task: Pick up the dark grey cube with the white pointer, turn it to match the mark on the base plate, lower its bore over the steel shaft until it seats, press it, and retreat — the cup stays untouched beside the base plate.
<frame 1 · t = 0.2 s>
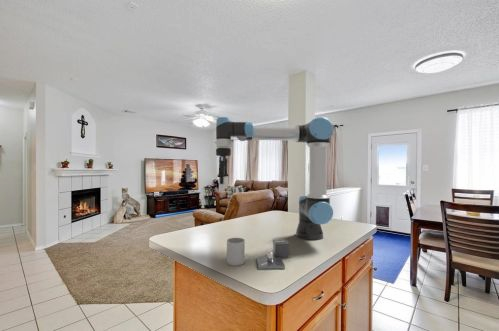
hand: (223, 189, 115), 28 cm above the worktop, fingers open, 13 cm apart
base plate: (270, 263, 91), on the worktop
dark grey cube: (280, 255, 100), on the worktop
cup: (234, 261, 93), on the worktop
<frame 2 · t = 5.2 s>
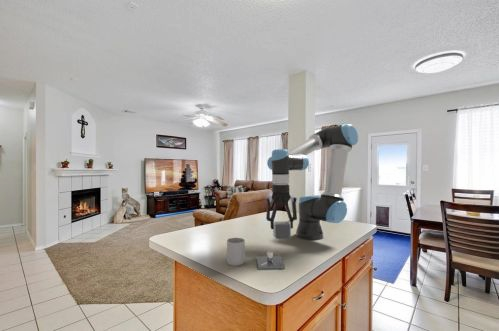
hand: (281, 235, 100), 8 cm above the worktop, fingers closed on dark grey cube, 6 cm apart
dark grey cube: (281, 236, 100), point 8 cm above the worktop, touching gripper
everything else where it was.
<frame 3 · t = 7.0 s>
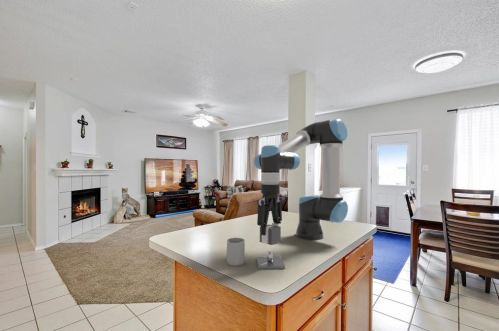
hand: (270, 241, 91), 9 cm above the worktop, fingers closed on dark grey cube, 6 cm apart
dark grey cube: (270, 241, 91), point 9 cm above the worktop, touching gripper
everything else where it was.
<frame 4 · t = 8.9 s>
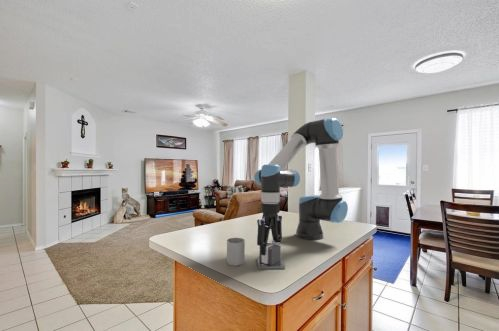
hand: (269, 260, 91), 1 cm above the worktop, fingers closed on dark grey cube, 6 cm apart
dark grey cube: (270, 261, 90), point 1 cm above the worktop, touching gripper
everything else where it was.
when the fingers open (1 cm above the worktop, at t = 9.2 s): dark grey cube stays where it is, resting on base plate.
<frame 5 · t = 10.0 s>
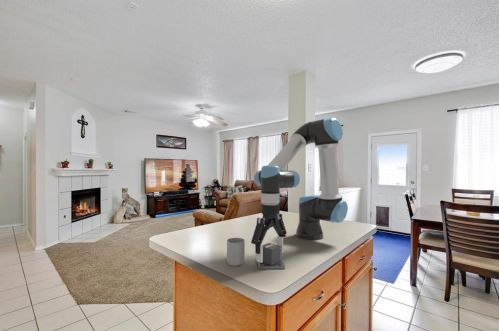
hand: (270, 256, 91), 3 cm above the worktop, fingers open, 13 cm apart
dark grey cube: (270, 261, 90), point 1 cm above the worktop, touching base plate
everything else where it was.
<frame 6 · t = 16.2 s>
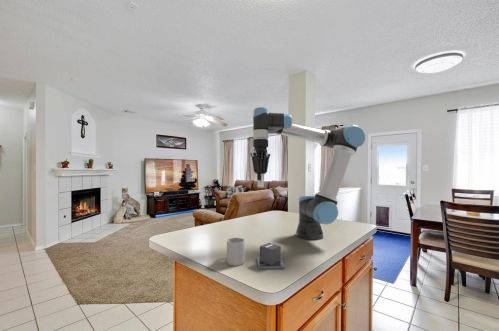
hand: (260, 186, 111), 29 cm above the worktop, fingers closed
nothing on the worktop moved.
at the end: dark grey cube 0.1 cm off-centre on the base plate, point 1.1 cm above the base plate's base; dark grey cube tilted 1°; the gripper is holding nothing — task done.
